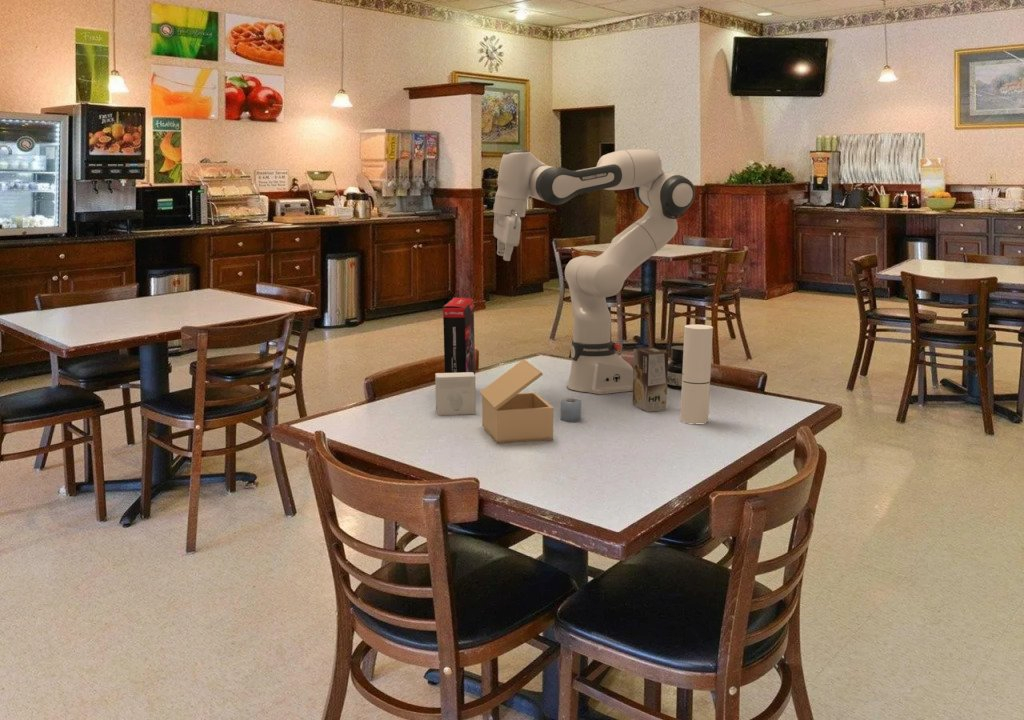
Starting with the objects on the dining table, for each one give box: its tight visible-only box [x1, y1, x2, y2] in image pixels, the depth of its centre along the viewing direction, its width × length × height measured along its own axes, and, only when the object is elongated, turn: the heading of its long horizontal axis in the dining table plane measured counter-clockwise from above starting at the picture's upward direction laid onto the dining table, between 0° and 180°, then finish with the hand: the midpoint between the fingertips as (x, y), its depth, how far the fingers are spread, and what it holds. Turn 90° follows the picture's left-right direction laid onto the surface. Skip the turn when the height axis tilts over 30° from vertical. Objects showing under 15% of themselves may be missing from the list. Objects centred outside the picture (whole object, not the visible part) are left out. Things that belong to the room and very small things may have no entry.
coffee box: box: [631, 346, 669, 413], centre depth 257 cm, size 9×6×16 cm
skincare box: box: [434, 372, 477, 416], centre depth 251 cm, size 10×6×10 cm, turn 98°
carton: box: [481, 391, 554, 444], centre depth 232 cm, size 14×16×8 cm
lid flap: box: [479, 358, 544, 410], centre depth 230 cm, size 14×16×1 cm
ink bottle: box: [667, 345, 684, 390], centre depth 282 cm, size 10×9×12 cm
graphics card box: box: [442, 297, 476, 376], centre depth 269 cm, size 17×7×27 cm, turn 174°
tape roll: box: [559, 397, 582, 423], centre depth 245 cm, size 5×5×5 cm
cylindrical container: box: [679, 323, 714, 425], centre depth 242 cm, size 7×7×25 cm
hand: (503, 257), depth 262 cm, fingers open, 8 cm apart
